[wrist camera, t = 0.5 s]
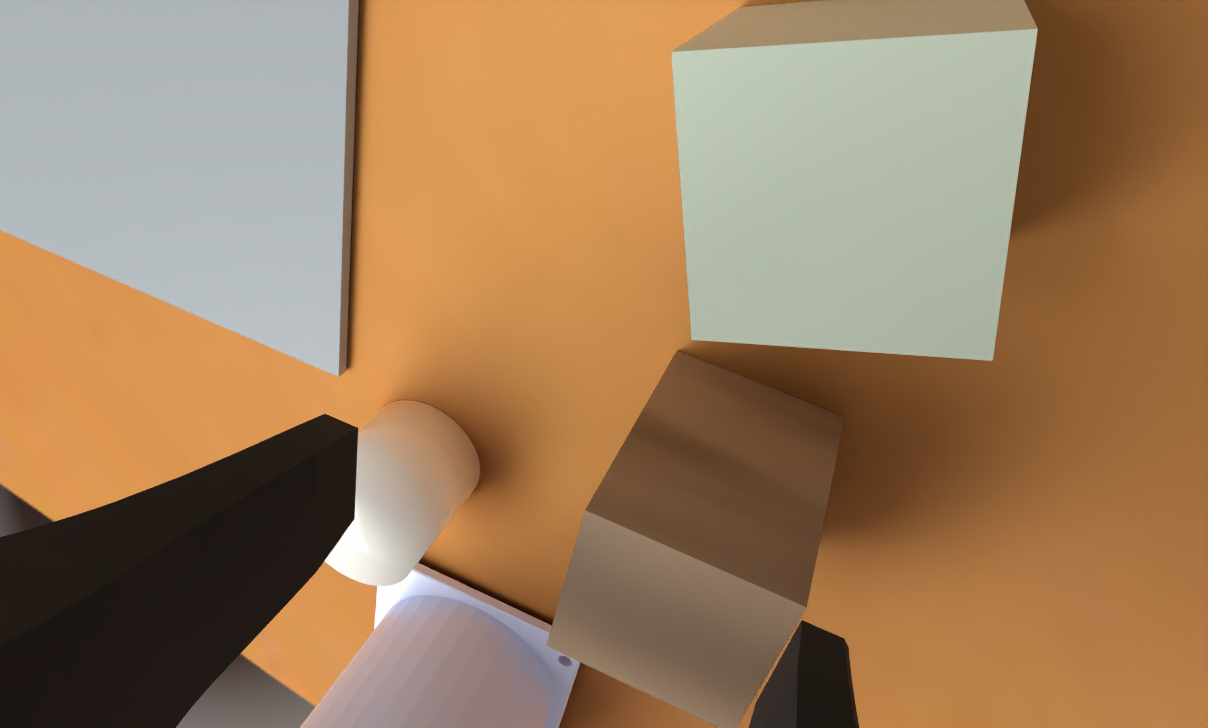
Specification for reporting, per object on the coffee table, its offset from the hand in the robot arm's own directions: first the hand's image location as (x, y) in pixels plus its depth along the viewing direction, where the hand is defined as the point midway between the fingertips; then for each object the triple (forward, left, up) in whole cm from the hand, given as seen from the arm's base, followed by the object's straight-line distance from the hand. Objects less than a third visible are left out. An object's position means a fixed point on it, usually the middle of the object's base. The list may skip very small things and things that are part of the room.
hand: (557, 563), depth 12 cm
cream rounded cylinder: (-9, +7, -10) cm, 15 cm away
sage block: (+5, -2, -10) cm, 11 cm away
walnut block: (-4, -2, -10) cm, 11 cm away
